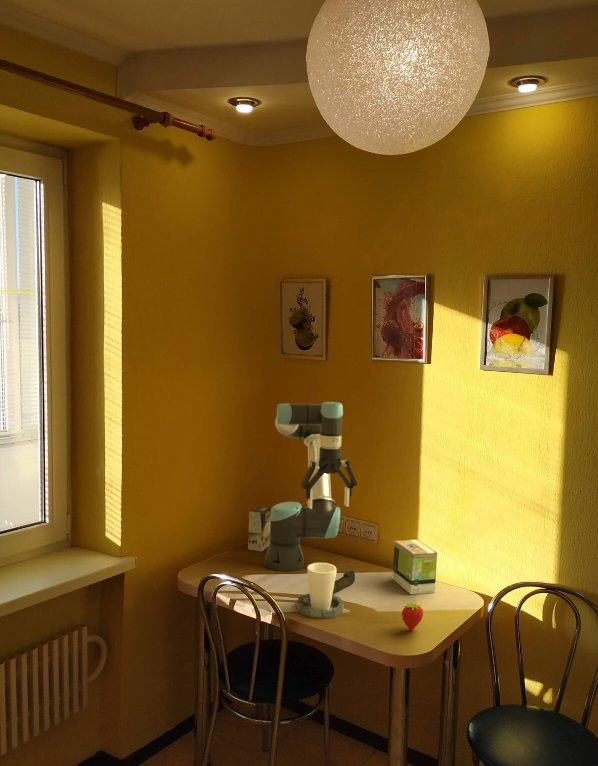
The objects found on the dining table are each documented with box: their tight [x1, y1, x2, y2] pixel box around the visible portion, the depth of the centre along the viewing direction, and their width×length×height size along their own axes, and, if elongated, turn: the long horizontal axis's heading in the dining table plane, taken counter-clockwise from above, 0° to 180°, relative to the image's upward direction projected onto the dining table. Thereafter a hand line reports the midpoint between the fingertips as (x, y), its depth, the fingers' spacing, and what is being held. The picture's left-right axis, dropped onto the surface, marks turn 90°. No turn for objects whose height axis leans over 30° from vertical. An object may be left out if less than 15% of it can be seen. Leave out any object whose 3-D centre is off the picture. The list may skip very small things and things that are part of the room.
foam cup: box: [306, 562, 337, 610], centre depth 228 cm, size 10×9×13 cm
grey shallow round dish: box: [296, 593, 345, 620], centre depth 229 cm, size 15×15×2 cm
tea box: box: [392, 539, 438, 595], centre depth 250 cm, size 15×10×15 cm, turn 18°
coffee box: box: [247, 505, 272, 552], centre depth 285 cm, size 9×6×16 cm
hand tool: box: [333, 570, 356, 594], centre depth 245 cm, size 19×4×5 cm, turn 140°
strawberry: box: [401, 600, 424, 632], centre depth 214 cm, size 6×8×10 cm
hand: (328, 506), depth 244 cm, fingers open, 13 cm apart
